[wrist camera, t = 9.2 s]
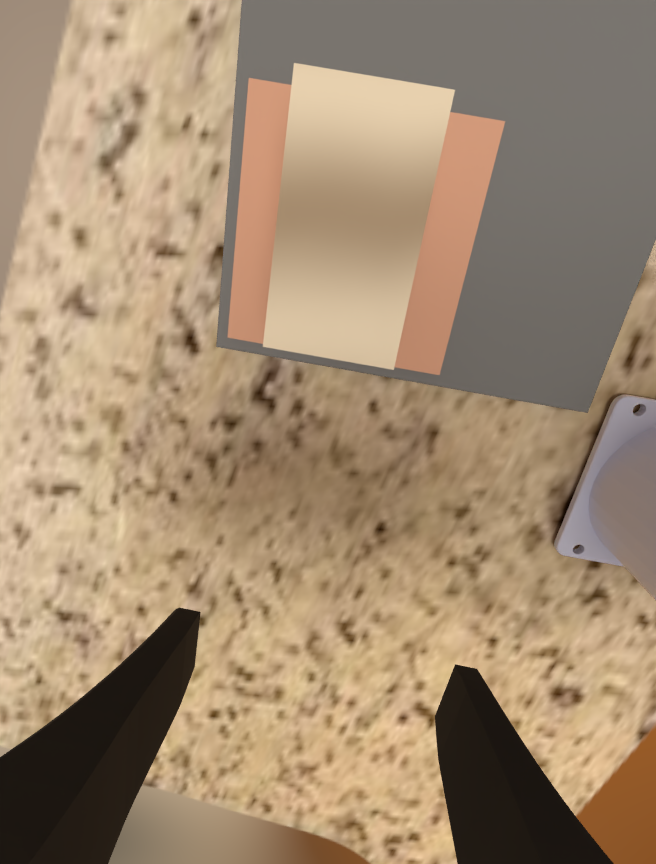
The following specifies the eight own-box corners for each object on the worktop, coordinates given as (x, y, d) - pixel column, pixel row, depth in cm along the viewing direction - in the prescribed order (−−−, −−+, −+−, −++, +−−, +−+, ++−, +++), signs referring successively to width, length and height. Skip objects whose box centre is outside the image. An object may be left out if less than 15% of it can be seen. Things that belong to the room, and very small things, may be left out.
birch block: (384, 346, 17) (393, 370, 13) (289, 329, 17) (262, 347, 13) (425, 150, 15) (455, 89, 10) (314, 131, 15) (293, 63, 10)
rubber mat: (775, -87, 13) (794, -105, 12) (582, 410, 18) (590, 414, 18) (258, -171, 13) (253, -192, 13) (219, 345, 19) (214, 347, 18)
